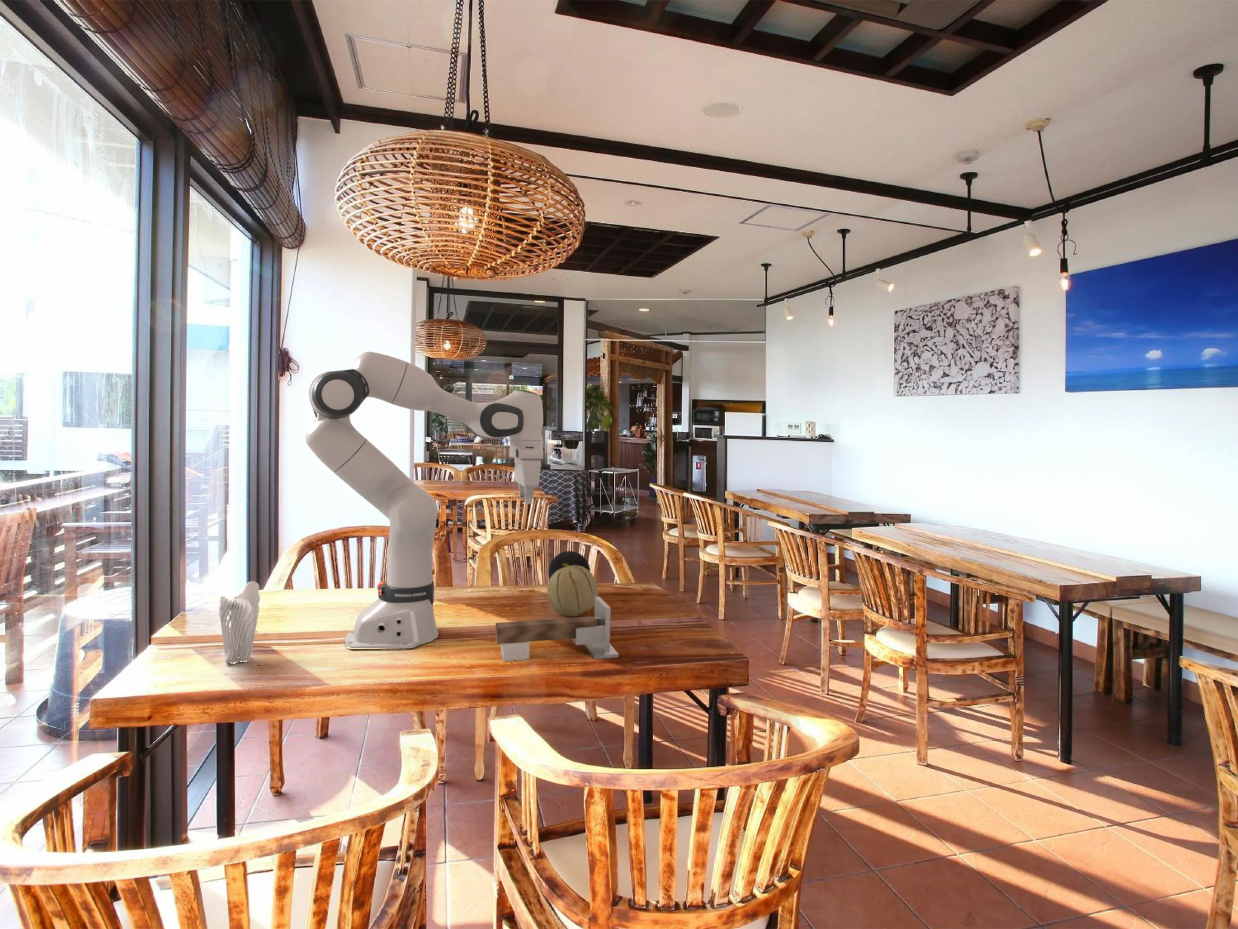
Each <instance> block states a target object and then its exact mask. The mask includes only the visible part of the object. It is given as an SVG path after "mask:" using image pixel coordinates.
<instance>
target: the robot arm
mask: <svg viewBox="0 0 1238 929" xmlns="http://www.w3.org/2000/svg"><path fill="white" fill-rule="evenodd" d="M308 397H309V402H310V405H311V407H312V410H313V413H314V416H315V420H314V421H313V422H312V423H311V424H310V425H309V427H308V429H307V431H306V433H305V443H306V444H307V446H308V448H309V449H310V450H311V451H312V452H313V453H314V454H315V456H316V457H317V458H318V459H319V460H320V461H321V462H322V463H323V465H325V466H326V467H327V468H328V469H329V470H330V471H331V472H333V474H334V475H336V476H337V477H338V478H340V480H342V481H343V482H344V483H345V484H346V485H348V486H349V487H350V488H351V489H353V490H354V491H355V493H357V495H359V496H361V497H362V498H363V499H364V500H366V501H367V503H370V505H372V506H373V507H374V508H375V509H377V511H379V512H380V513H381V514H382V515H383V516H385V517H386V518H387V520H389V534H388V535H389V536H388V545H387V550H386V551H387V552H386V582H383V581H380V582H378V583H377V585H376V586H377V587H376V589H377V591H378V592H377V596H378V597H377V600H375V601H374V602H373V603H371V604H370V605H369V606H367V607H366V608H364V609H363V610H362V611H361V612H360V613H359V614H358V616H357V618H356V620H355V624H354V629H353V630H351V631H350V632H348V633H347V634H346V636H345V638H344V645H345V644H346V646H348V647H350V648H413V647H415V648H417V647H419V646H421V645H424V644H427V642H428V643H430V642H433V641H435V640H436V639H437V638H439V636H438V635H439V631H438V628H437V624H436V618H435V612H434V603H435V585H434V584H435V582H434V580H433V552H434V541H435V536H436V535H435V534H436V528H437V526H436V525H437V518H438V505H437V502H436V500H435V498H434V496H432V494H430V493H429V492H428V491H426V490H424V489H423V488H422V487H420V486H418V485H417V484H416V483H415V482H414V481H413V480H412V479H411V478H410V477H408V475H406V474H405V473H404V472H403V471H402V470H401V469H400V468H399V467H398V466H397V465H396V464H395V463H394V462H393V461H392V460H391V459H390V458H388V456H386V455H385V454H384V453H383V452H382V451H381V450H379V449H378V448H377V447H376V446H375V445H374V444H373V443H372V442H371V441H369V440H368V439H367V438H366V437H365V436H364V435H363V434H361V433H360V431H358V430H357V429H356V427H354V425H353V424H352V422H351V418H350V417H351V416H350V415H352V414H353V413H355V412H356V411H357V410H358V409H359V408H360V406H361V405H362V404H363V402H364V401H365V400H366V399H367V398H373V399H374V398H375V399H378V400H381V401H383V402H386V403H388V404H391V405H394V406H397V407H400V408H404V409H408V410H413V411H421V412H422V411H423V412H432V413H436V414H438V415H441V416H444V417H446V418H449V419H451V420H453V421H456V422H458V423H460V424H462V425H464V427H466V428H467V429H468V430H469V431H470V433H471V434H473V435H475V437H476V436H477V437H479V438H480V439H481V438H482V439H489V438H490V439H502V438H505V437H509V457H510V458H514V482H516V483H518V492H519V499H520V500H524V503H525V504H526V505H531V504H533V496H534V489H537V488H538V487H539V484H540V479H541V478H540V477H541V467H542V461H541V460H544V450H543V449H544V448H543V447H544V438H543V434H542V433H543V432H542V429H543V427H544V426H543V425H544V409H543V408H544V407H543V401H542V398H541V396H540V395H539V394H537V393H536V392H533V391H529V390H523V389H516V390H513V391H512V392H511V393H509V394H508V395H506V396H503V397H501V398H499V399H496V400H494V401H490V402H489V401H470V400H468V399H465V398H463V397H460V396H458V395H456V394H453V393H450V392H448V391H446V390H445V389H443V388H442V387H441V386H439V385H438V383H437V382H436V380H435V378H434V377H433V376H432V374H431V373H429V372H427V371H425V370H424V369H422V368H421V367H418V366H417V365H415V364H412V363H410V362H408V361H405V360H402V359H400V358H398V357H394V356H390V355H388V354H383V353H380V352H374V351H365V352H363V353H360V355H358V357H357V358H356V359H355V360H354V361H353V363H352V366H351V368H349V369H343V370H331V371H326V372H323V373H320V374H319V375H317V376H316V377H315V378H314V379H313V380H312V382H311V384H310V386H309V389H308ZM351 632H352V633H351ZM353 632H354V633H353ZM434 639H435V640H434ZM420 644H421V645H420ZM418 645H419V646H418ZM346 646H345V647H346ZM416 646H417V647H416ZM413 649H414V648H413Z"/></svg>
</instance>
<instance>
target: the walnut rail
mask: <svg viewBox="0 0 1238 929" xmlns="http://www.w3.org/2000/svg"><path fill="white" fill-rule="evenodd" d="M590 626H597V620H596V619H595V616H580V617H579V616H576V617H564V618H551V619H547V618H546V619H535V620H521V621H504V622H496V623H495V641H496V642H495V643H496V644H497V645H501V644H507V643H520V642H529V643H530V642H533V643H534V642H543V641H544V642H545V641H556V640H557V641H559V640H569V639H570V640H572V639H573V638H575V628H576V627H590Z"/></svg>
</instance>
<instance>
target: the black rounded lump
mask: <svg viewBox="0 0 1238 929" xmlns="http://www.w3.org/2000/svg"><path fill="white" fill-rule="evenodd" d="M564 563H565V564H567V565H570V566H572V565H577V566H582V567H584V568H586V569H587V570H589V571H590V572H591V567H590V564H589V562H588V560H587V559H586V558H585V557H584V556H583V555H582V554H581V553H579V552H577V551H573V550H566V551H563V552H559V553H558V554H556V556H554V557H553V559H552V560H551V562H550V563H549V566H548V572H547V573H548V578H549V580H550V578H551V576H552V575H553V574H554V573H555V572H556V571H557V570H559V569H561V568H564V567H565V566H562V564H564Z"/></svg>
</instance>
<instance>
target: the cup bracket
mask: <svg viewBox="0 0 1238 929" xmlns="http://www.w3.org/2000/svg"><path fill="white" fill-rule="evenodd" d="M594 618H595V619H596V620H597V626H590V627H576V628H575V638H573V639H571V641H573V643H574V644H575V646H582V645H583V646H584V647H585V649H586V650H587V651H588V653H589V654H590V655H591V657H592V658H593V659H594V660H603V659H604V660H605V659H615V658H619V652H618V651H617V650H616V649H615V648H614V647H613V645H612V644H611V606H609V605H608V604H607V602H606V601H605V600H603V599H602V597H601V596H598V597H595V605H594Z"/></svg>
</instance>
